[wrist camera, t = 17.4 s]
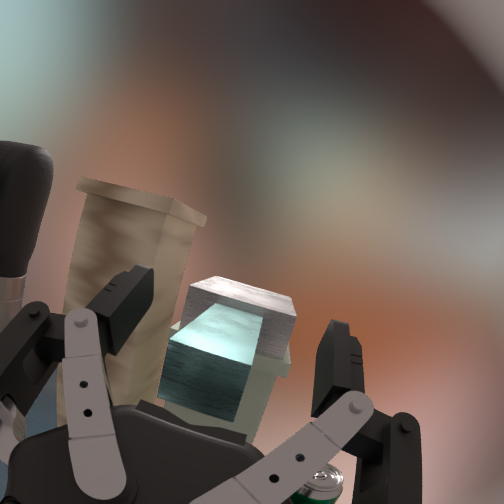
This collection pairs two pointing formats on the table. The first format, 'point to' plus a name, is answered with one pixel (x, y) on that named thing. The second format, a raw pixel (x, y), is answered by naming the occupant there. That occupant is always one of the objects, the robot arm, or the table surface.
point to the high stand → (124, 259)
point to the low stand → (252, 397)
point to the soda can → (320, 487)
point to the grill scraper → (223, 344)
